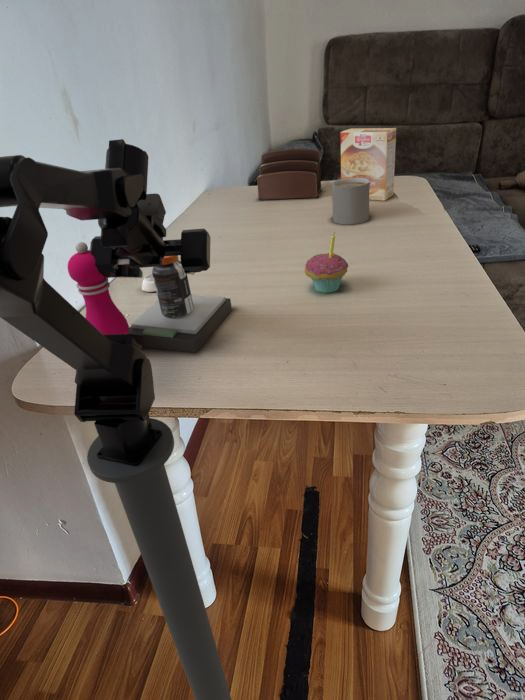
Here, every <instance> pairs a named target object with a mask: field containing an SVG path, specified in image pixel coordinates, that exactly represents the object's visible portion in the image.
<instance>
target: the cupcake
mask: <svg viewBox="0 0 525 700" xmlns="http://www.w3.org/2000/svg"><path fill="white" fill-rule="evenodd" d="M332 234H333V235H331V239H330V245H329V252H328V253H318V254H315V255H313V256H312V257H310V258H309V259H308V260H307V261H306V263H305V265H304V274H305V276H306V277H308V278H310V280H311V281H312V283H313V286H314V289H315V290H316V292H318V293H321V294H330V293H334V292H336V291H338V290H339V289H340V285H341V283H342V280H343V277H344V276H345V275H346V273H348V268H349V263H348V262H347V261H346V259H345V258H343V257H342V256H341V255H340V254H336V253H334V248H335V240H336V235H335V234H336V231H334V232H333V233H332Z"/></svg>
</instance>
